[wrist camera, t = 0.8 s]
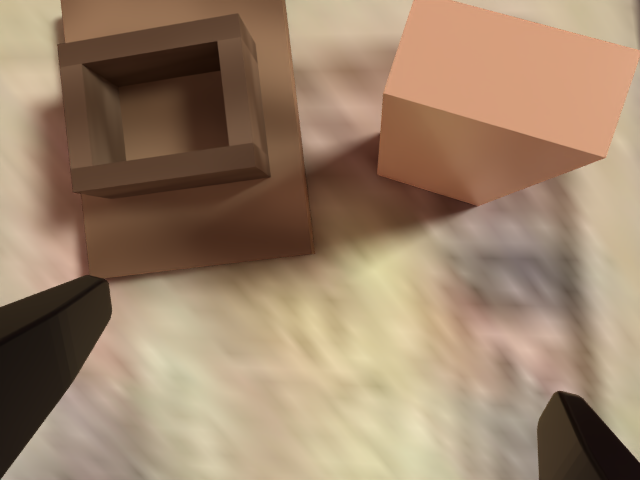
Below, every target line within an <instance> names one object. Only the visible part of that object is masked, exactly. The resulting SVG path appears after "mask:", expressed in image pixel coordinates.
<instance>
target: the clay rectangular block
mask: <svg viewBox="0 0 640 480" xmlns="http://www.w3.org/2000/svg"><path fill="white" fill-rule="evenodd" d="M639 58H640V50H636V49H633V48H629V47H625V46H621V45H617V44H614V43H610V42H606V41H602V40H599V39H595V38H591V37H587V36H584V35H580V34H576V33H572V32H569V31H565V30H561V29H557V28H553V27H550V26H546V25H542V24H538V23H535V22H531V21H527V20H523V19H520V18H516V17H512V16H508V15H505V14H501V13H497V12H493V11H489V10H486V9H482V8H478V7H474V6H471V5H467V4H463V3H459V2H456V1H452V0H414V1H413V4H412V7H411V10H410V13H409V16H408V19H407V22H406V25H405V28H404V31H403V34H402V37H401V40H400V43H399V46H398V50H397V53H396V56H395V59H394V62H393V65H392V68H391V71H390V74H389V77H388V80H387V83H386V86H385V89H384V92H383V103H382V116H381V130H380V143H379V156H378V170H377V175H379V176H383V177H386V178H389V179H392V180H395V181H399V182H402V183H405V184H408V185H412V186H415V187H418V188H421V189H424V190H428V191H431V192H434V193H437V194H441V195H444V196H447V197H450V198H453V199H457V200H460V201H463V202H466V203H470V204H473V205H476V206H480V205H482V204H485V203H488V202H490V201H493V200H496V199H498V198H501V197H503V196H506V195H509V194H511V193H514V192H517V191H519V190H522V189H525V188H527V187H530V186H532V185H535V184H538V183H540V182H543V181H546V180H548V179H551V178H554V177H556V176H559V175H561V174H564V173H567V172H569V171H572V170H575V169H577V168H580V167H583V166H585V165H588V164H590V163H593V162H596V161H598V160H601V159H604V158H606V155H607V152H608V149H609V146H610V143H611V141H612V138H613V135H614V132H615V129H616V126H617V123H618V120H619V117H620V114H621V111H622V108H623V105H624V102H625V99H626V96H627V93H628V90H629V87H630V84H631V81H632V79H633V76H634V73H635V70H636V67H637V64H638V61H639Z"/></svg>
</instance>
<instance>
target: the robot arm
mask: <svg viewBox="0 0 640 480" xmlns="http://www.w3.org/2000/svg"><path fill="white" fill-rule="evenodd" d="M111 314H112V305H111V297H110V289H109V283H108V282H107V280H105V279H103V278H99V277H95V276H91V275H85V276H82V277H80V278H77V279H74V280H72V281H69V282H66V283H64V284H61V285H58V286H56V287H53V288H50V289H48V290H45V291H42V292H40V293H37V294H34V295H32V296H29V297H26V298H24V299H21V300H18V301H16V302H13V303H10V304H7V305H5V306H2V307H0V480H1V478H2V477H3V476H4V474H5V473H6V472H7V470H8V469H9V468H10V466H11V465H12V464H13V462H14V461H15V459H16V458H17V457H18V455H19V454H20V453H21V451H22V450H23V449H24V447H25V446H26V445H27V443H28V442H29V441H30V439H31V438H32V437H33V435H34V434H35V433H36V431H37V430H38V429H39V427H40V426H41V425H42V423H43V422H44V420H45V419H46V418H47V416H48V415H49V414H50V412H51V411H52V410H53V408H54V407H55V406H56V404H57V403H58V402H59V400H60V399H61V398H62V396H63V395H64V394H65V392H66V391H67V389H68V388H69V387H70V385H71V384H72V382H73V381H74V379H75V378H76V376H77V374H78V373H79V371H80V370H81V368H82V366H83V364H84V363H85V361H86V359H87V358H88V356H89V354H90V353H91V351H92V349H93V348H94V346H95V344H96V343H97V341H98V339H99V337H100V336H101V334H102V332H103V331H104V329H105V327H106V326H107V324H108V322H109V320H110V318H111ZM537 441H538V466H539V480H640V463H639V461H638V460H637V459H636V458H635V457H634V456H633V455H632V453H631V452H630V451H629V450H628V449H627V448H626V447H625V446H624V444H623V443H622V442H621V441H620V440H619V439H618V438H617V436H616V435H615V434H614V433H613V432H612V431H611V430H610V428H609V427H608V426H607V425H606V424H605V423H604V422H603V421H602V419H601V418H600V417H599V416H598V415H597V414H596V413H595V411H594V410H593V409H592V408H591V407H590V406H589V405H588V403H587V402H586V401H585V400H584V399H583V398H582V397H580V396H579V395H576V394H572V393H568V392H563V391H557V392H555V393H554V394H553V395H552V397H551V399H550V401H549V402H548V404H547V406H546V408H545V409H544V411H543V413H542V415H541V416H540V418H539V421H538V426H537Z"/></svg>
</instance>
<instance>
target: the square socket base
mask: <svg viewBox="0 0 640 480" xmlns="http://www.w3.org/2000/svg"><path fill="white" fill-rule="evenodd" d="M61 8H62V17H63V27H64V36H65V43H63V44H58V45H57V46H58V55H59V65H60V74H61V84H62V93H63V103H64V112H65V122H66V132H67V141H68V151H69V160H70V170H71V179H72V189H73V192H75V193H80V194H81V198H82V207H83V217H84V226H85V236H86V245H87V255H88V264H89V274H90V275H91V276H95V277H99V278H111V277H120V276H128V275H137V274H145V273H154V272H162V271H171V270H179V269H188V268H196V267H205V266H213V265H221V264H230V263H238V262H247V261H255V260H264V259H272V258H281V257H289V256H298V255H306V254H315V250H314V242H313V233H312V225H311V216H310V208H309V199H308V191H307V182H306V174H305V165H304V157H303V148H302V140H301V131H300V123H299V114H298V106H297V97H296V89H295V80H294V72H293V63H292V55H291V46H290V38H289V29H288V21H287V12H286V4H285V0H61Z"/></svg>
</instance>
